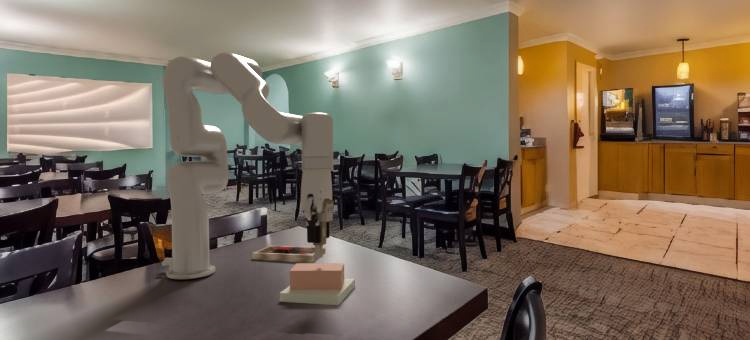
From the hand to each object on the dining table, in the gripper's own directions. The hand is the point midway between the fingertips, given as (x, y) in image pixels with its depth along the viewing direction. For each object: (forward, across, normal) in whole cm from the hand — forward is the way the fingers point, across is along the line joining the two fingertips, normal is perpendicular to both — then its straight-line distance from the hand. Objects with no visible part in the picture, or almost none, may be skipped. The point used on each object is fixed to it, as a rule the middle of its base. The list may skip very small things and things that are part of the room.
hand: (318, 239), depth 99 cm
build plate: (+13, 0, 0) cm, 13 cm away
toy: (+5, 0, 0) cm, 5 cm away
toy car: (+14, -29, -21) cm, 38 cm away
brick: (+11, 0, 0) cm, 11 cm away
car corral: (+13, -30, -21) cm, 39 cm away
